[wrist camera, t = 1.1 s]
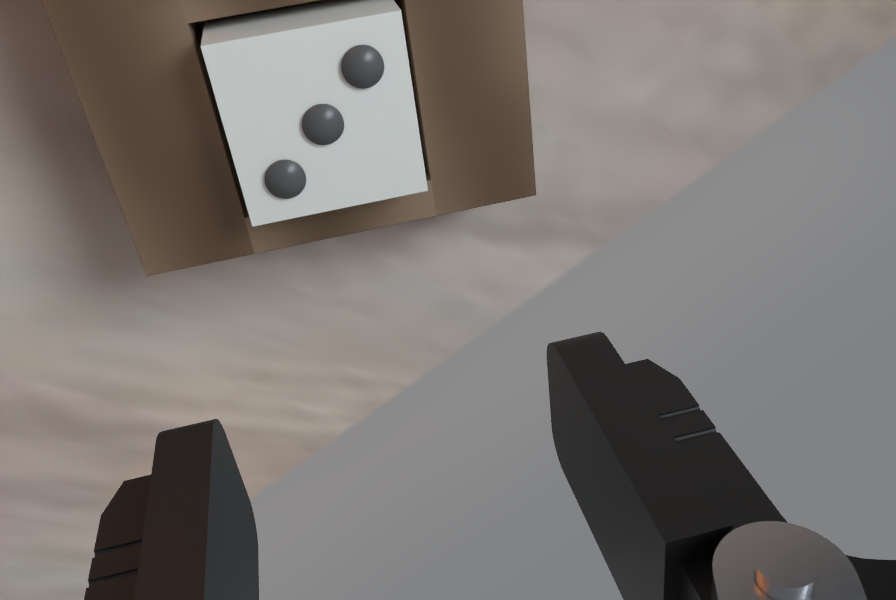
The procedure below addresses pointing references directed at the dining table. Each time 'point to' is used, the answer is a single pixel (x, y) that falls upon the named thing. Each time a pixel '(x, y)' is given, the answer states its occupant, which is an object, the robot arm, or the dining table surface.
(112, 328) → the dining table surface
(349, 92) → the button three
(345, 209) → the button panel
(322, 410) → the dining table surface
